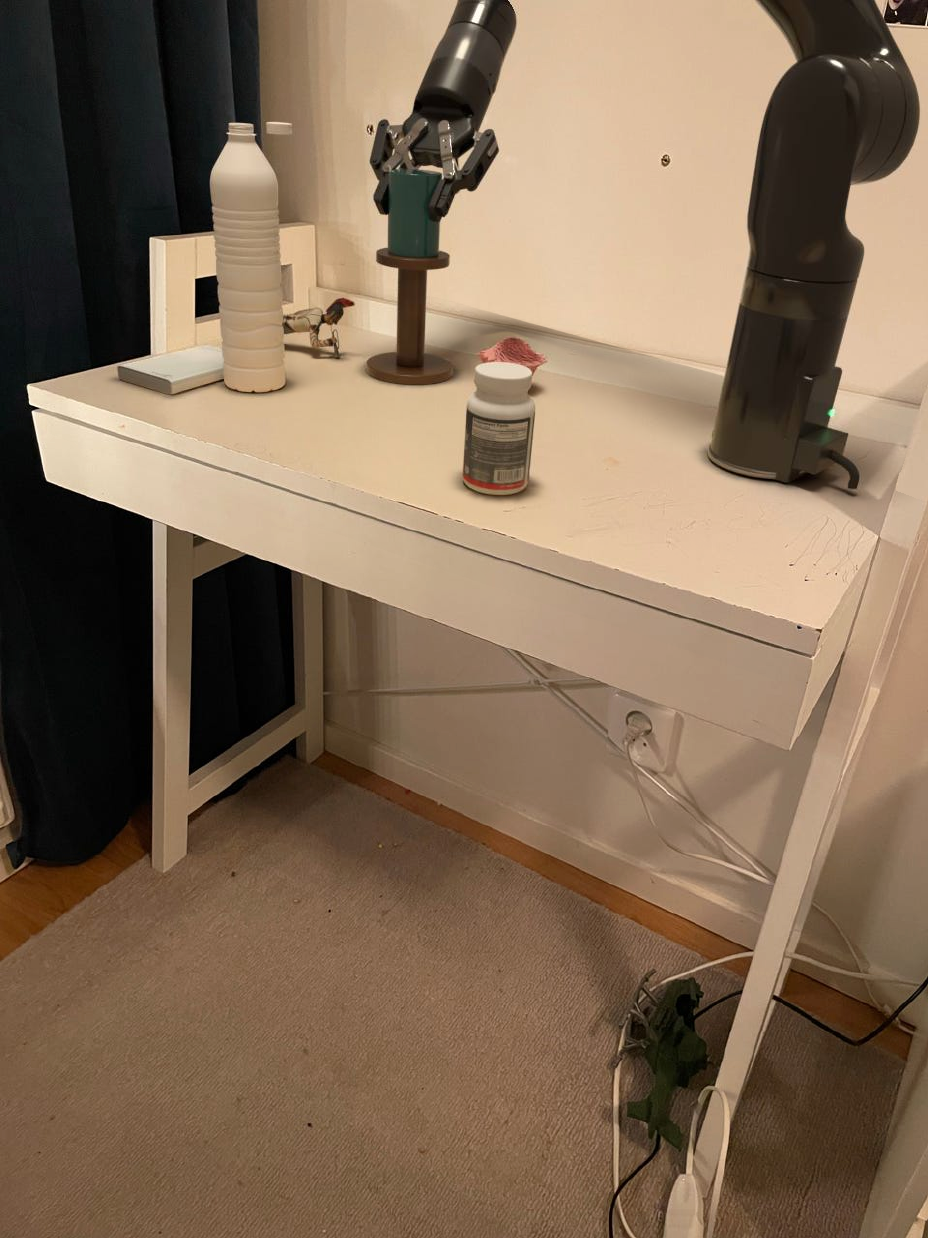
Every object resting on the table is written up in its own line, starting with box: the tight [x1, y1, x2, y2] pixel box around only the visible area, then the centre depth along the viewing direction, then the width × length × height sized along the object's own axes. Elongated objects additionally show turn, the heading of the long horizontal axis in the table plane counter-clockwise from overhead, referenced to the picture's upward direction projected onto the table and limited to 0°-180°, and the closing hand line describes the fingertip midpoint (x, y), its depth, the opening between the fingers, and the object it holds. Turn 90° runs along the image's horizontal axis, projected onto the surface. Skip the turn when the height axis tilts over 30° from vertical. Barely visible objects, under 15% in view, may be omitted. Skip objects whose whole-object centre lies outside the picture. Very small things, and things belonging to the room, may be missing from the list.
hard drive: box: [116, 344, 224, 395], centre depth 101 cm, size 2×8×12 cm
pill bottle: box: [462, 362, 536, 496], centre depth 78 cm, size 6×6×10 cm
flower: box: [475, 336, 548, 377], centre depth 103 cm, size 8×8×6 cm
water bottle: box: [209, 121, 293, 393], centre depth 95 cm, size 9×6×25 cm
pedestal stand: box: [365, 247, 454, 386], centre depth 104 cm, size 10×10×13 cm
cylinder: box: [387, 168, 443, 258], centre depth 99 cm, size 6×6×8 cm
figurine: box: [282, 297, 356, 359], centre depth 112 cm, size 6×4×15 cm
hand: (407, 212), depth 97 cm, fingers closed on cylinder, 5 cm apart
